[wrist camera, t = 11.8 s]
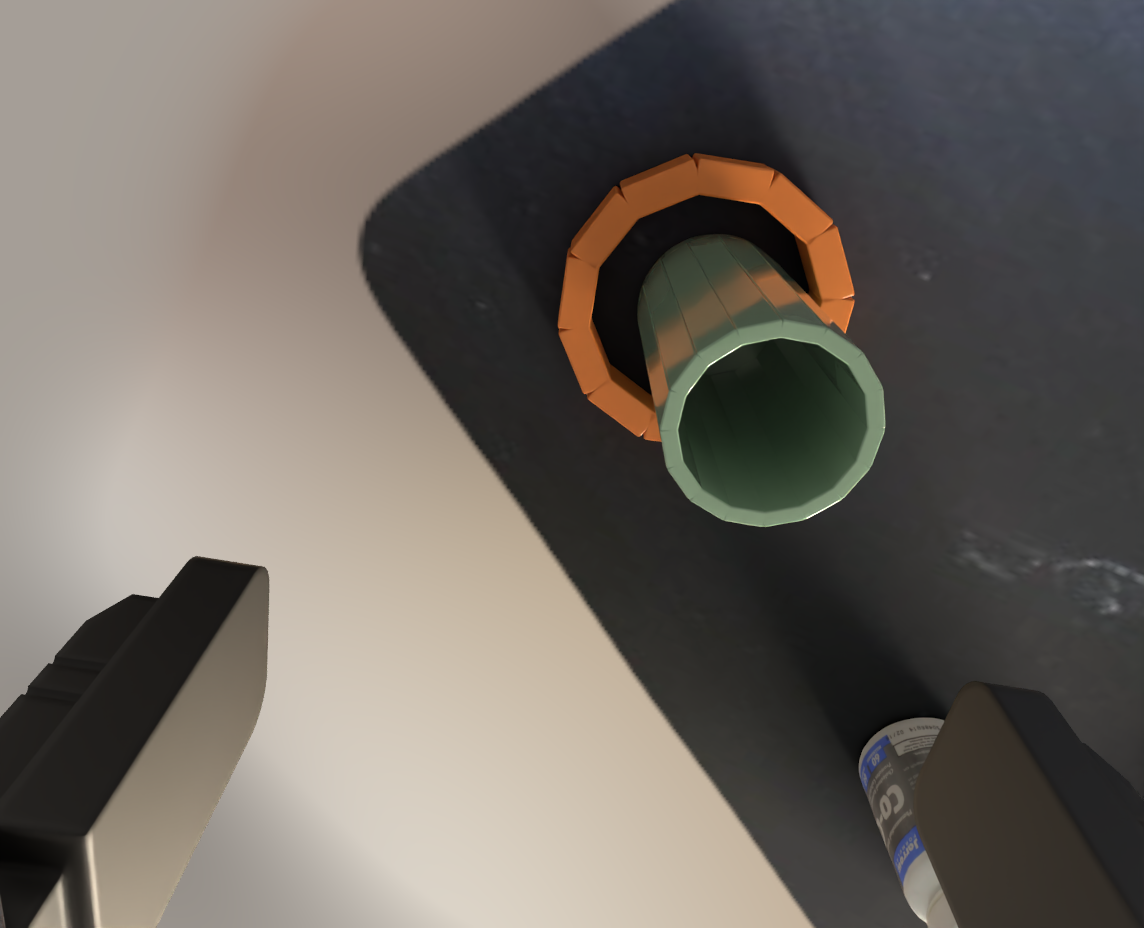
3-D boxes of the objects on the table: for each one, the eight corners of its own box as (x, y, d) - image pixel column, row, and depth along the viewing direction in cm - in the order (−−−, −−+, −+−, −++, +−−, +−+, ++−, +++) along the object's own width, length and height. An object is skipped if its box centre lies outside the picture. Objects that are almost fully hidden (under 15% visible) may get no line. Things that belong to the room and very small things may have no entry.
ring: (584, 135, 25) (584, 139, 24) (871, 180, 26) (888, 187, 24) (545, 408, 29) (543, 426, 27) (796, 443, 29) (807, 463, 28)
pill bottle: (849, 725, 35) (924, 910, 27) (967, 704, 34) (1077, 887, 26) (861, 807, 37) (934, 1002, 29) (973, 789, 36) (1077, 982, 28)
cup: (654, 220, 26) (691, 302, 17) (804, 248, 26) (917, 344, 17) (623, 365, 28) (640, 507, 19) (762, 390, 29) (844, 541, 19)
